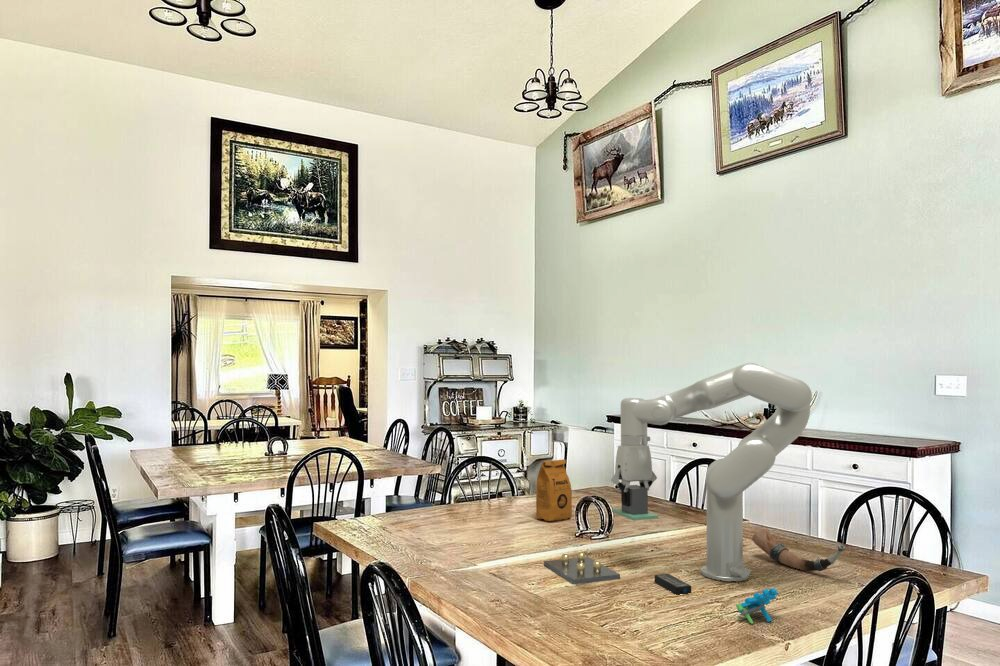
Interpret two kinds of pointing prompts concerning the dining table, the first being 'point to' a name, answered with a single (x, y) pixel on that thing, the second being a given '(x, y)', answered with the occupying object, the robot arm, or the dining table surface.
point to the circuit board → (636, 505)
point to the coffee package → (553, 492)
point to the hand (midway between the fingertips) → (634, 504)
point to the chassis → (581, 569)
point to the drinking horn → (784, 556)
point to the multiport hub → (672, 584)
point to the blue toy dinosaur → (757, 604)
